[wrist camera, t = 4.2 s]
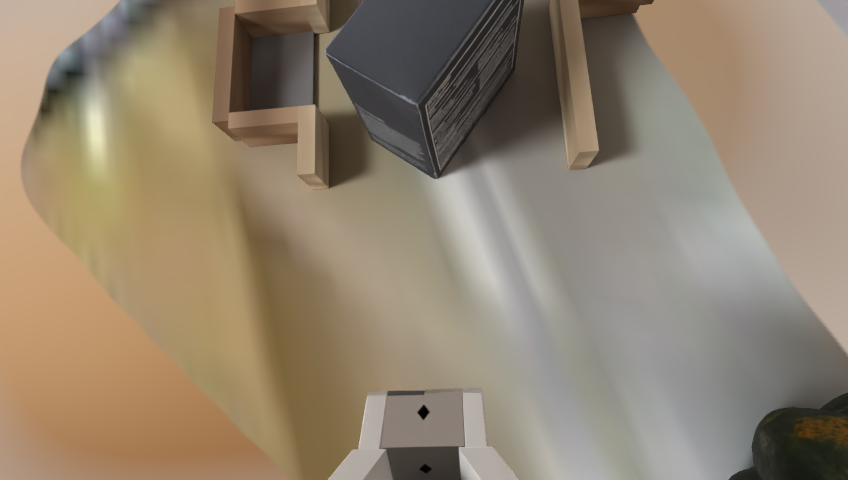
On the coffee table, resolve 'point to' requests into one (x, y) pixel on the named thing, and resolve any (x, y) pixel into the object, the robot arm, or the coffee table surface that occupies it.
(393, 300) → the coffee table surface
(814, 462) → the squash
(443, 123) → the small box
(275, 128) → the trap lane
